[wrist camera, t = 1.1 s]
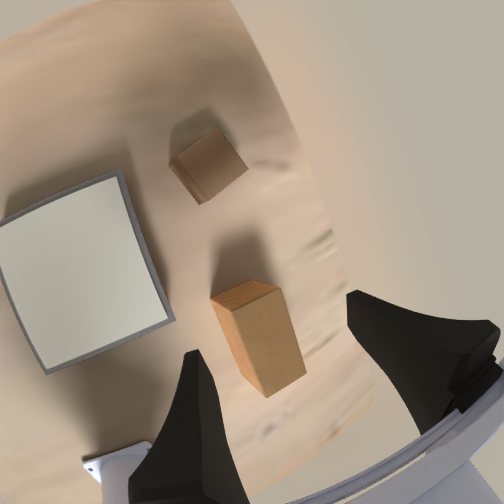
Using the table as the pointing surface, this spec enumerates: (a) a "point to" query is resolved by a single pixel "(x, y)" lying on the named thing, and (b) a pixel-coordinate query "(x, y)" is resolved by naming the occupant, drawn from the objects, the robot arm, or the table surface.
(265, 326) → the block
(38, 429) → the table surface
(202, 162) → the walnut block
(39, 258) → the stand
